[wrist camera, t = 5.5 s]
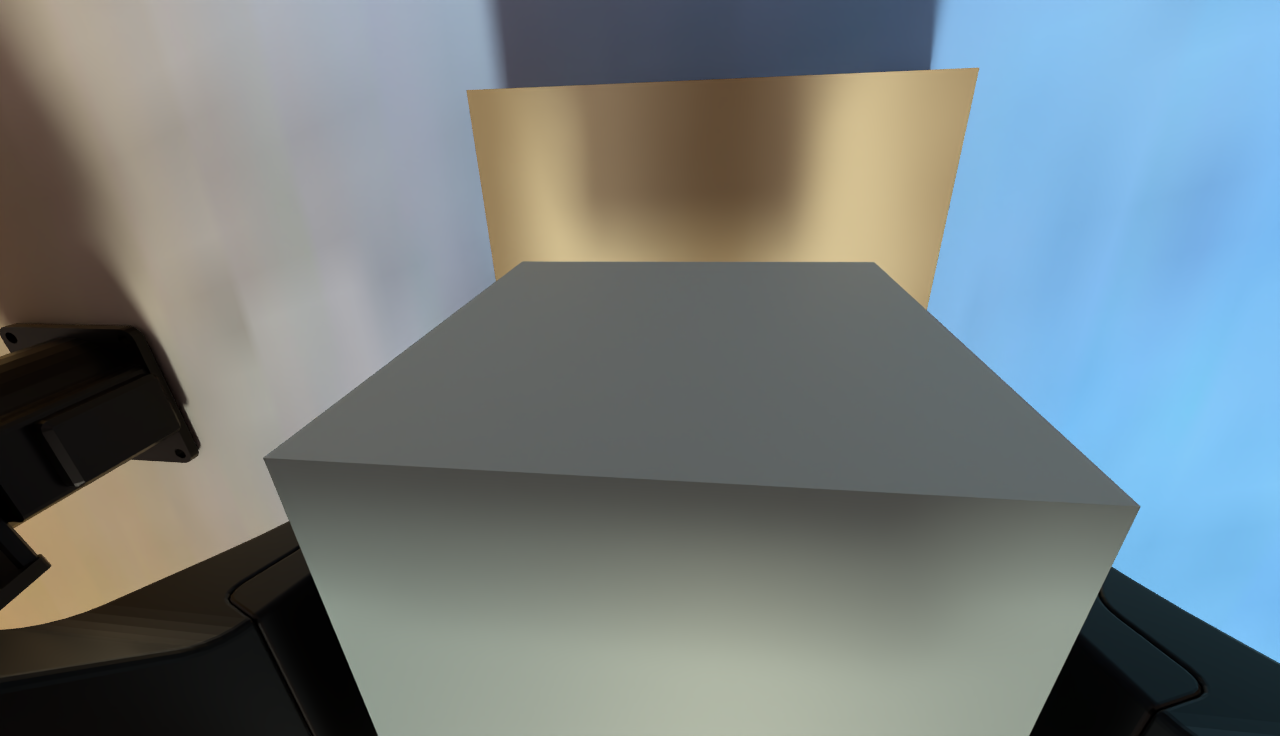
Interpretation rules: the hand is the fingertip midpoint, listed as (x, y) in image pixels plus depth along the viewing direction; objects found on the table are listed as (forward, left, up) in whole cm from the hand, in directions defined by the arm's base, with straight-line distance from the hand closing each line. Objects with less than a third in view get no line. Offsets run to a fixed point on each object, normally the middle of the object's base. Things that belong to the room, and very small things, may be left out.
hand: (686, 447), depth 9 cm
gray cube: (0, 0, -1) cm, 1 cm away
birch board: (0, 0, -10) cm, 10 cm away
